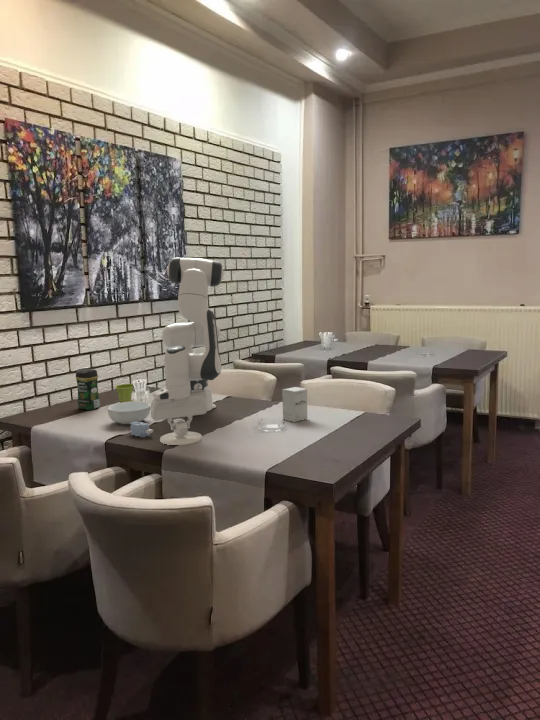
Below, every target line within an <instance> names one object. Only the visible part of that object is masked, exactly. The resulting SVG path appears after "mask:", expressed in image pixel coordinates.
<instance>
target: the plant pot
mask: <svg viewBox="0 0 540 720" xmlns="http://www.w3.org/2000/svg"><path fill="white" fill-rule="evenodd" d="M114 388H115V389H116V392H117V397H118V400H119V403H123V402H132V400H131V393H132V391H133V383H124V384H118V385H115V386H114Z"/></svg>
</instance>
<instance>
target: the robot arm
mask: <svg viewBox="0 0 540 720" xmlns="http://www.w3.org/2000/svg"><path fill="white" fill-rule="evenodd" d="M166 270H167V271H166V272H167V273H166V274H167V277H168V280H169V281H170V282H171V283H172V284H174V285H175V284H176V285H179V287H178V288H179V289H178V296H177V309H178V312H179V314H180V315H181V316H182V317H183V318H185V320H187V321H189V322H175V323H172V324H168V325H165V327H164V328H163V329H162V333H161V340H162V342H163V344H164V345H165V346H166V347H167V348H166V349H165V351H164V352H165V353H164V374H165V383H164V384H165V386H164V387H161V388H159V389H157V390H155V391H153V393H152V396H153V399H152V401H151V404H150V417H151V419H152V420H153V421H163V420H166V421H167V423H168V424H169V425H170V430H171V431H174V430H176V425H175V424H173V419H179V418H185V417H187V421H186V422H187V429H190V428H191V426H190V425H191V422H192V420H193V416H199V415H205V414H207V412H210V411H211V410H213V409H215V408H217V405H216V404H214V403H213V397H212V396H213V393H212V389H210V387H208V386H209V381H213V380H215V379H216V378H218V377H219V376H220V375H221V372H222V360H221V355H220V350H219V341H220V338H221V328H220V326H219V324H217V320H216V315H215V313H214V312H213V311H212V310H210V307H209V304H208V297H209V287H211V288H214V287H218V286H220V285H221V282H222V281H223V279H224V275H225V274H224V267H223V264H222V263H221V262H220V261H218V260H214V259H206V258H201V257H181V256H180V257H177V256H176V257H173V258H171V259H170V260H169V262H168V265H167V269H166ZM197 347H198V348H199V347H205V351H204V352H194V351H193V348H197Z"/></svg>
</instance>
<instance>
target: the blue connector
mask: <svg viewBox="0 0 540 720" xmlns="http://www.w3.org/2000/svg"><path fill="white" fill-rule="evenodd" d="M130 424H131V425H130V435H131V436H133V435H135V436H134V437H137V436H140V437H139V438H146V437H145V436H148V437H150V434H152V433H154V429H153V428H152V429H151V428H150V426H149V423H146V422H142V421H140V422H132V423H130Z"/></svg>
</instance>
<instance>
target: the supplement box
mask: <svg viewBox="0 0 540 720" xmlns="http://www.w3.org/2000/svg"><path fill="white" fill-rule="evenodd" d="M281 394H282V395H281V396H282V420H284V419H285V421H288V422H291V421H292V423H297V422H300V420H301V421H303V420H304V419H305V420H308V389H307V388H305V387H304V388H303V387H299V386H293V387H288V388H284V389H282V393H281ZM305 420H304V421H305Z"/></svg>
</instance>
